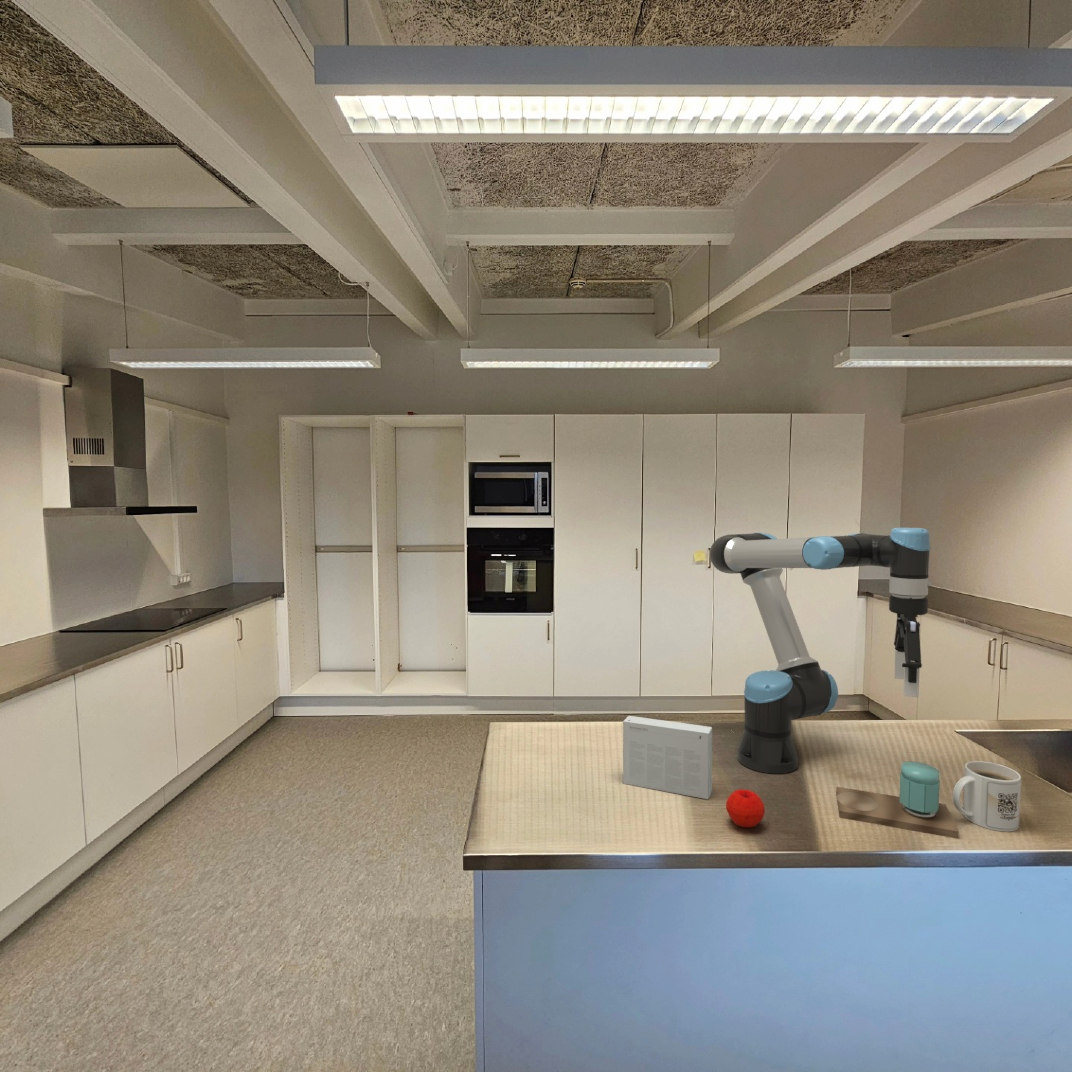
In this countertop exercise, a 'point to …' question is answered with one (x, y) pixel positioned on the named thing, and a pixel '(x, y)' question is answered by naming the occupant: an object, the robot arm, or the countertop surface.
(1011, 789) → the mug
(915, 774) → the cap
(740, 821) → the apple
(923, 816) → the stud
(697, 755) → the skincare box
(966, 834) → the countertop surface
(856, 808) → the board
